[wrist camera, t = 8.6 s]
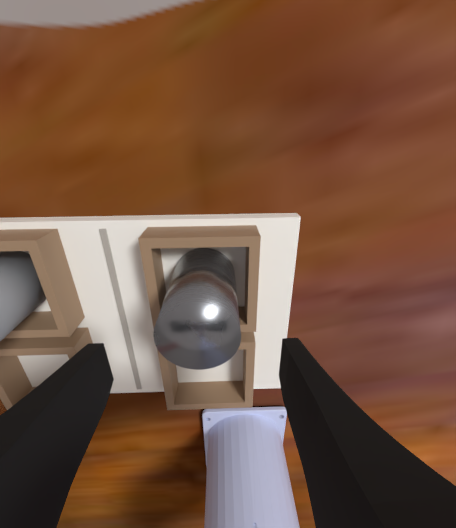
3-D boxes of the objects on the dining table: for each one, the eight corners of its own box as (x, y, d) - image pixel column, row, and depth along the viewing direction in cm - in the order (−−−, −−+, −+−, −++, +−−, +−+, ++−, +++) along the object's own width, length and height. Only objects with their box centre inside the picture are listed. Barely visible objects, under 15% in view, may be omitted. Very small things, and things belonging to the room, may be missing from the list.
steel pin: (231, 302, 18) (236, 371, 13) (174, 298, 18) (154, 367, 13) (237, 250, 16) (246, 304, 11) (174, 245, 16) (151, 299, 11)
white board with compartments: (278, 378, 23) (300, 468, 17) (5, 386, 23) (-78, 482, 16) (296, 212, 17) (343, 258, 10) (-88, 219, 16) (-286, 270, 10)
